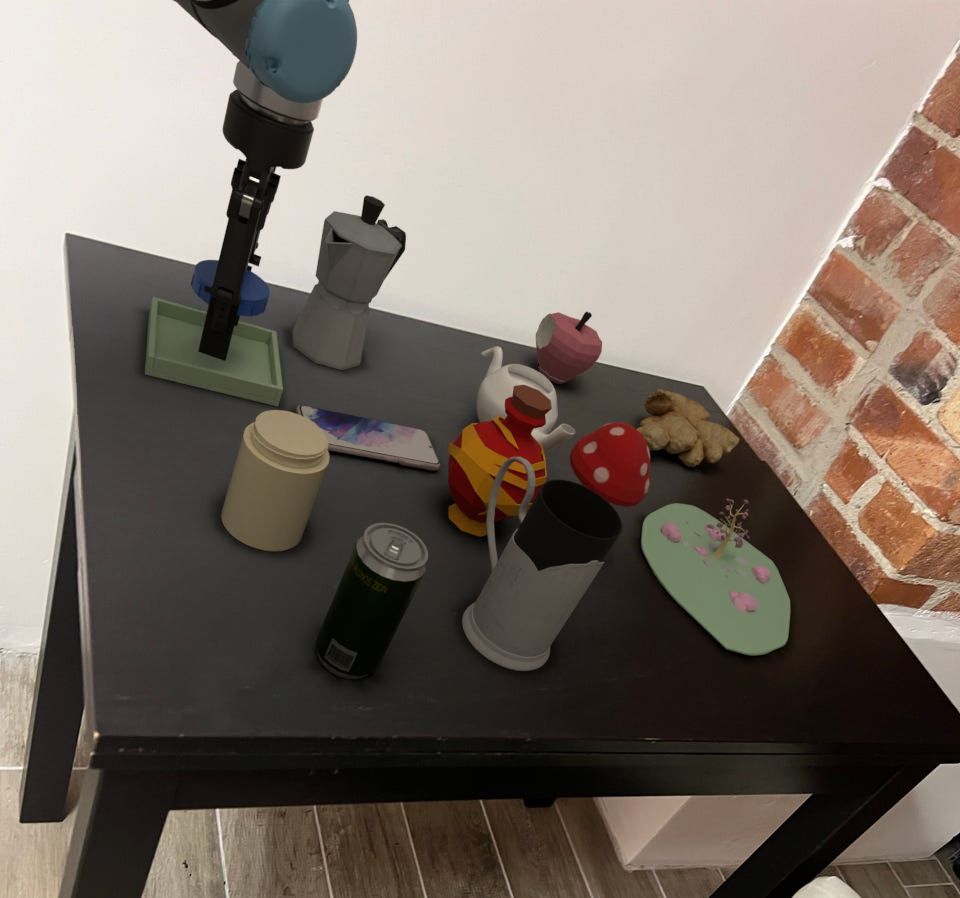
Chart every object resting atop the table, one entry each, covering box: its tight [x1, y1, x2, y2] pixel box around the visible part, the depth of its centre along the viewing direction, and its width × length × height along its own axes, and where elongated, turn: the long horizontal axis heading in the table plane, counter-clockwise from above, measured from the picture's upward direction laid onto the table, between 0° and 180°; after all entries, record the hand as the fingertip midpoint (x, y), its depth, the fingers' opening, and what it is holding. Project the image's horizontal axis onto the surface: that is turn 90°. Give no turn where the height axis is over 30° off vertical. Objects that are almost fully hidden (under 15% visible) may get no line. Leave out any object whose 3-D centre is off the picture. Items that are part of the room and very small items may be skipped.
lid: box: [190, 259, 271, 317], centre depth 91 cm, size 7×7×2 cm
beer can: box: [315, 522, 429, 680], centre depth 69 cm, size 5×5×12 cm
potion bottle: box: [447, 385, 552, 538], centre depth 89 cm, size 10×10×15 cm
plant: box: [640, 498, 791, 656], centre depth 103 cm, size 25×21×9 cm
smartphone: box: [295, 404, 441, 472], centre depth 96 cm, size 7×1×15 cm
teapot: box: [475, 345, 576, 456], centre depth 105 cm, size 10×20×9 cm, turn 26°
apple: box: [535, 311, 603, 385], centre depth 125 cm, size 10×9×10 cm
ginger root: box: [636, 388, 741, 468], centre depth 126 cm, size 16×16×8 cm
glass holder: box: [461, 457, 623, 672], centre depth 80 cm, size 9×14×15 cm, turn 32°
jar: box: [220, 409, 331, 552], centre depth 77 cm, size 7×7×10 cm
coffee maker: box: [291, 194, 407, 371], centre depth 103 cm, size 15×9×18 cm, turn 147°
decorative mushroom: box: [569, 421, 651, 508], centre depth 93 cm, size 10×9×15 cm
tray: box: [144, 296, 284, 407], centre depth 95 cm, size 13×12×2 cm
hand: (218, 336), depth 94 cm, fingers closed on lid, 7 cm apart
